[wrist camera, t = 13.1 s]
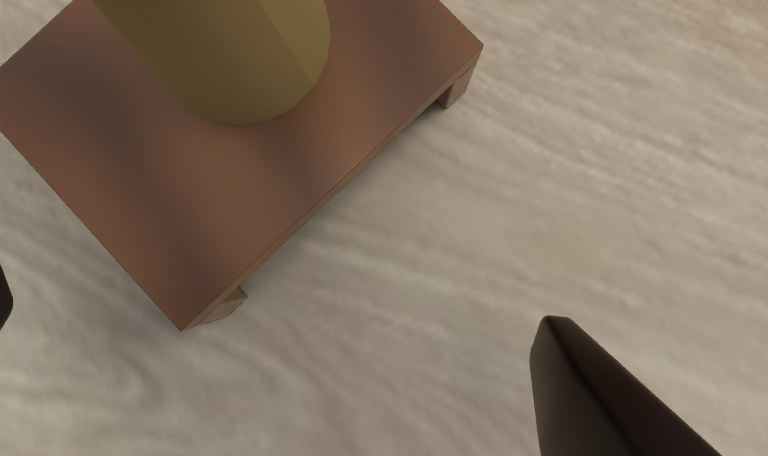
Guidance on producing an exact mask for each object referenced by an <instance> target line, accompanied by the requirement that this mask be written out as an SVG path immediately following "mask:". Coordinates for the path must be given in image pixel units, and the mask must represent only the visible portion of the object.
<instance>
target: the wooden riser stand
mask: <svg viewBox="0 0 768 456" xmlns="http://www.w3.org/2000/svg"><path fill="white" fill-rule="evenodd" d="M323 1H324V3H325V5H326V7H327V13H328V18H329V24H330V30H331V38H330V45H329V52H328V58H327V62H326V64H325V66H324V68H323V70H322V72H321V74H320V76H319V78H318V80H317V82H316V84H315V86H314V88H313V89H312V90H311V91H310V92H309V93H308V94H307V95H306V96H305V97H304V98H303V99H302V100H301V101H300V102H299V103H298V104H297V105H296V106H295V107H294V108H292V109H290V110H288V111H286V112H284V113H282V114H281V115H279V116H277V117H275V118H273V119H271V120H269V121H265V122H259V123H254V124H248V125H243V126H238V125H230V124H222V123H214V122H211V121H209V120H207V119H205V118H203V117H201V116H199V115H197V114H194V113H192V112H190V111H188V110H187V109H186V108H185V107H184V106H183V105H182V104H181V103H180V102H179V101H178V100H177V99H176V98H175V97H173V96H172V95H171V94H170V93H169V92H168V91H167V89H166V88H165V87H164V86H163V85H162V84H161V82H160V81H159V80H158V79H157V78H156V77H155V75H154V74H153V73H152V72H151V71H150V70H149V68H148V67H147V66H146V65H145V64H144V62H143V61H142V60H141V59H140V58H139V57H138V55H137V54H136V53H135V52H134V51H133V50H132V48H131V47H130V46H129V45H128V44H127V43H126V41H125V40H124V39H123V38H122V37H121V35H120V34H119V33H118V32H117V31H116V30H115V28H114V27H113V26H112V25H111V24H110V23H109V21H108V20H107V19H106V18H105V17H104V16H103V14H102V13H101V12H100V11H99V10H98V8H97V7H96V6H95V5H94V4H93V3H92V1H91V0H73V1H72V2H71V3H70V4H69V5H68V6H66V7H65V8H64V9H63V10H62V11H61V12H60V13H59V14H58V15H57V16H56V17H54V18H53V19H52V20H51V21H50V22H49V23H48V24H47V25H46V26H45V27H43V28H42V29H41V30H40V31H39V32H38V33H37V34H36V35H35V36H34V37H33V38H31V39H30V40H29V41H28V42H27V43H26V44H25V45H24V46H23V47H22V48H21V49H19V50H18V51H17V52H16V53H15V54H14V55H13V56H12V57H11V58H10V59H9V60H7V61H6V62H5V63H4V64H3V65H2V66H1V67H0V131H1V132H2V133H3V134H4V135H5V137H6V138H7V139H8V140H9V141H10V142H11V143H12V144H13V145H14V147H15V148H16V149H17V150H18V151H19V152H20V153H21V154H22V156H23V157H24V158H25V159H26V160H27V161H28V162H29V163H30V164H31V166H32V167H33V168H34V169H35V170H36V171H37V172H38V173H39V174H40V176H41V177H42V178H43V179H44V180H45V181H46V182H47V183H48V184H49V186H50V187H51V188H52V189H53V190H54V191H55V192H56V193H57V194H58V196H59V197H60V198H61V199H62V200H63V201H64V202H65V203H66V205H67V206H68V207H69V208H70V209H71V210H72V211H73V212H74V213H75V215H76V216H77V217H78V218H79V219H80V220H81V221H82V222H83V223H84V225H85V226H86V227H87V228H88V229H89V230H90V231H91V232H92V233H93V235H94V236H95V237H96V238H97V239H98V240H99V241H100V242H101V244H102V245H103V246H104V247H105V248H106V249H107V250H108V251H109V252H110V254H111V255H112V256H113V257H114V258H115V259H116V260H117V261H118V262H119V264H120V265H121V266H122V267H123V268H124V269H125V270H126V271H127V272H128V274H129V275H130V276H131V277H132V278H133V279H134V280H135V281H136V283H137V284H138V285H139V286H140V287H141V288H142V289H143V290H144V291H145V293H146V294H147V295H148V296H149V297H150V298H151V299H152V300H153V301H154V303H155V304H156V305H157V306H158V307H159V308H160V309H161V310H162V311H163V313H164V314H165V315H166V316H167V317H168V318H169V319H170V320H171V321H172V323H173V324H174V325H175V326H176V327H177V328H178V329H179V330H180V331H183V330H186V329H189V328H192V327H195V326H198V325H201V324H204V323H208V322H211V321H214V320H217V319H220V318H223V317H226V316H229V315H230V314H231V313H232V312H233V311H234V310H235V309H236V308H237V307H238V306H239V305H240V304H241V303H242V302H243V301H244V300H245V299H246V298H247V295H246V294H245V293H244V292H243V291H242V290H241V289H240V287H239V285H240V284H241V283H242V282H243V281H244V280H245V279H246V278H247V277H248V276H250V275H251V274H252V273H253V272H254V271H255V270H256V269H257V268H258V267H259V266H260V265H261V264H262V263H263V262H264V261H265V260H266V259H268V258H269V257H270V256H271V255H272V254H273V253H274V252H275V251H276V250H277V249H278V248H279V247H280V246H281V245H282V244H283V243H284V242H286V241H287V240H288V239H289V238H290V237H291V236H292V235H293V234H294V233H295V232H296V231H297V230H298V229H299V228H300V227H301V226H302V225H304V224H305V223H306V222H307V221H308V220H309V219H310V218H311V217H312V216H313V215H314V214H315V213H316V212H317V211H318V210H319V209H320V208H322V207H323V206H324V205H325V204H326V203H327V202H328V201H329V200H330V199H331V198H332V197H333V196H334V195H335V194H336V193H337V192H338V191H340V190H341V189H342V188H343V187H344V186H345V185H346V184H347V183H348V182H349V181H350V180H351V179H352V178H353V177H354V176H355V175H356V174H358V173H359V172H360V171H361V170H362V169H363V168H364V167H365V166H366V165H367V164H368V163H369V162H370V161H371V160H372V159H373V158H374V157H376V156H377V155H378V154H379V153H380V152H381V151H382V150H383V149H384V148H385V147H386V146H387V145H388V144H389V143H390V142H391V141H392V140H393V139H395V138H396V137H397V136H398V135H399V134H400V133H401V132H402V131H403V130H404V129H405V128H406V127H407V126H408V125H409V124H410V123H411V122H413V121H414V120H415V119H416V118H417V117H418V116H419V115H420V114H421V113H422V112H423V111H424V110H425V109H426V108H427V107H428V106H429V105H431V104H432V103H433V102H434V101H435V100H437V101H438V102H439V103H440V104H441V105H442V106H443V107H444V108H445V109H447V108H448V107H449V106H450V105H452V104H453V103H454V102H455V101H456V100H457V99H458V98H459V97H460V96H461V95H462V94H463V93H464V92H465V91H466V88H467V86H468V83H469V81H470V78H471V76H472V73H473V70H474V68H475V65H476V63H477V60H478V58H479V56H480V53H481V51H482V48H483V46H484V45H483V44H482V43H481V42H480V41H479V40H478V39H477V38H476V37H475V36H474V35H473V34H472V33H471V32H470V31H469V30H468V29H467V28H466V27H465V26H464V25H463V24H462V23H461V22H460V21H459V20H458V19H457V18H456V17H455V16H454V15H453V14H452V13H451V12H450V11H449V10H448V9H447V8H446V7H445V6H444V5H443V4H442V3H441V2H440V1H439V0H323Z"/></svg>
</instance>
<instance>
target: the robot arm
mask: <svg viewBox="0 0 768 456" xmlns="http://www.w3.org/2000/svg"><path fill="white" fill-rule="evenodd" d="M12 308H13V297H12V294H11V291H10V289H9V286H8V283H7V280H6V278H5V275H4V272H3V269H2V267H1V265H0V330H1V329H2V327H3V325H4V324H5V322H6V320H7V319H8V317H9V315H10V313H11V311H12ZM530 372H531V381H532V389H533V398H534V406H535V415H536V423H537V432H538V440H539V447H540V452H541V456H722V455H721V454H720V453H718V452H717V451H716V450H715V449H714V448H713V447H712V446H711V445H710V444H708V443H707V442H706V441H705V440H704V439H703V438H702V437H701V436H700V435H699V434H697V433H696V432H695V431H694V430H693V429H692V428H691V427H690V426H689V425H687V424H686V423H685V422H684V421H683V420H682V419H681V418H680V417H679V416H678V415H676V414H675V413H674V412H673V411H672V410H671V409H670V408H669V407H668V406H667V405H665V404H664V403H663V402H662V401H661V400H660V399H659V398H658V397H657V396H655V395H654V394H653V393H652V392H651V391H650V390H649V389H648V388H647V387H646V386H644V385H643V384H642V383H641V382H640V381H639V380H638V379H637V378H636V377H634V376H633V375H632V374H631V373H630V372H629V371H628V370H627V369H626V368H625V367H623V366H622V365H621V364H620V363H619V362H618V361H617V360H616V359H615V358H614V357H612V356H611V355H610V354H609V353H608V352H607V351H606V350H605V349H604V348H602V347H601V346H600V345H599V344H598V343H597V342H596V341H595V340H594V339H593V338H591V337H590V336H589V335H588V334H587V333H586V332H585V331H584V330H583V329H581V328H580V327H579V326H578V325H577V324H576V323H575V322H574V321H573V320H571V319H570V318H567V317H560V316H550V315H547V316H545V317H543V319H542V320H541V322H540V325H539V328H538V331H537V333H536V336H535V339H534V342H533V345H532V348H531V351H530Z"/></svg>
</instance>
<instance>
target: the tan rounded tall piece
mask: <svg viewBox="0 0 768 456" xmlns="http://www.w3.org/2000/svg"><path fill="white" fill-rule="evenodd" d="M91 1H92V3H93V4H94V5H95V6H96V7H97V8H98V10H99V11H100V12H101V13H102V14H103V16H104V17H105V18H106V19H107V20H108V21H109V23H110V24H111V25H112V26H113V27H114V28H115V30H116V31H117V32H118V33H119V34H120V35H121V37H122V38H123V39H124V40H125V41H126V43H127V44H128V45H129V46H130V47H131V48H132V50H133V51H134V52H135V53H136V54H137V55H138V57H139V58H140V59H141V60H142V61H143V62H144V64H145V65H146V66H147V67H148V68H149V70H150V71H151V72H152V73H153V74H154V75H155V77H156V78H157V79H158V80H159V81H160V82H161V84H162V85H163V86H164V87H165V88H166V89H167V91H168V92H169V93H170V94H171V95H172V96H173V97H175V98H176V99H177V100H178V101H179V102H180V103H181V104H182V105H183V106H184V107H185V108H186V109H187V110H188V111H190V112H192V113H194V114H197V115H199V116H201V117H203V118H205V119H207V120H209V121H211V122H214V123H222V124H230V125H238V126H243V125H248V124H254V123H259V122H265V121H269V120H271V119H273V118H275V117H277V116H279V115H281V114H282V113H284V112H286V111H288V110H290V109H292V108H294V107H295V106H296V105H297V104H298V103H299V102H300V101H301V100H302V99H303V98H304V97H305V96H306V95H307V94H308V93H309V92H310V91H311V90H312V89H313V88H314V86H315V84H316V82H317V80H318V78H319V76H320V74H321V72H322V70H323V68H324V66H325V64H326V62H327V58H328V52H329V45H330V38H331V30H330V24H329V18H328V13H327V7H326V5H325V3H324V1H323V0H91Z"/></svg>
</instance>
